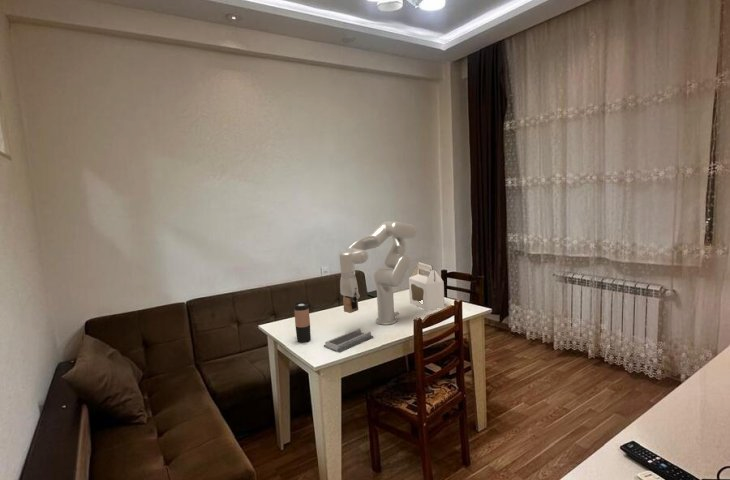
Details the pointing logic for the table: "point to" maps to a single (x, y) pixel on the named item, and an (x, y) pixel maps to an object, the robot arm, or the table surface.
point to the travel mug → (302, 322)
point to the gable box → (426, 288)
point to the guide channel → (348, 340)
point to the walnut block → (349, 304)
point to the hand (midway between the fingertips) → (351, 307)
